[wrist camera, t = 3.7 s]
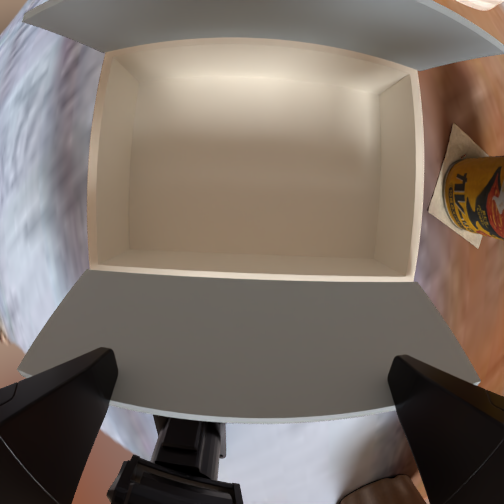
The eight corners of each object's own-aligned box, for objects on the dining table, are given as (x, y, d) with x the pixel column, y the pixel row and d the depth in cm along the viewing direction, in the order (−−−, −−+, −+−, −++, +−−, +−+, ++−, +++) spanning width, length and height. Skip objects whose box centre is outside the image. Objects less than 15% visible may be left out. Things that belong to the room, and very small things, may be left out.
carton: (377, 265, 19) (412, 286, 14) (125, 255, 18) (90, 274, 14) (383, 91, 16) (417, 68, 11) (135, 78, 16) (106, 50, 11)
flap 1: (103, 52, 11) (104, 46, 10) (420, 71, 11) (419, 65, 11) (22, 22, 4) (24, 13, 4) (505, 53, 4) (504, 45, 4)
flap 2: (417, 281, 13) (414, 287, 13) (86, 269, 13) (88, 275, 13) (480, 380, 7) (475, 386, 7) (16, 369, 7) (21, 375, 7)
